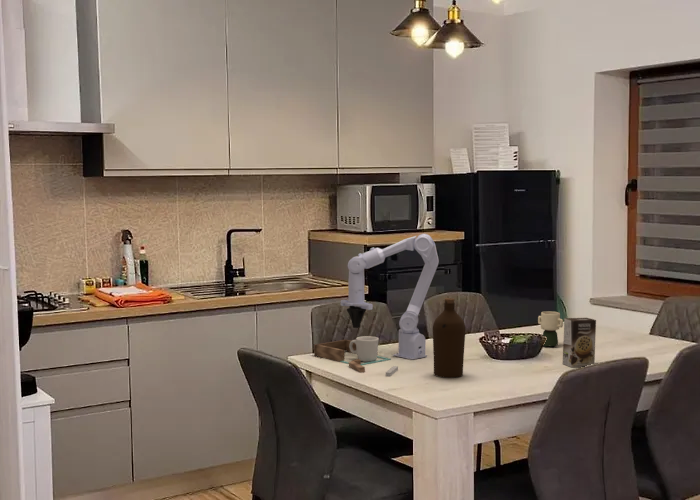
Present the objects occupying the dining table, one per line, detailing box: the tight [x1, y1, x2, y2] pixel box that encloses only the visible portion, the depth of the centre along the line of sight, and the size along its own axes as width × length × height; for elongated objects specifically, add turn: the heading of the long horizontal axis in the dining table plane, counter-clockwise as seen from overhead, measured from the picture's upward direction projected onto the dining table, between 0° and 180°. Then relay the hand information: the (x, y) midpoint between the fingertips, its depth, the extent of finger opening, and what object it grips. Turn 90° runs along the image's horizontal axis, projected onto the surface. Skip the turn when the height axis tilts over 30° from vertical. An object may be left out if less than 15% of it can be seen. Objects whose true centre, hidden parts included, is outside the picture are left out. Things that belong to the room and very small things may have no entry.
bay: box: [339, 355, 392, 366], centre depth 312 cm, size 9×16×1 cm, turn 133°
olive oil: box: [432, 297, 467, 379], centre depth 290 cm, size 11×11×25 cm
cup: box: [349, 335, 380, 363], centre depth 312 cm, size 11×8×8 cm
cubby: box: [313, 339, 356, 362], centre depth 320 cm, size 15×15×4 cm
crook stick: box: [347, 358, 366, 373], centre depth 299 cm, size 11×4×2 cm, turn 23°
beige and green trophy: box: [537, 310, 564, 348], centre depth 340 cm, size 11×7×13 cm, turn 44°
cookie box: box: [562, 317, 597, 368], centre depth 306 cm, size 9×6×16 cm
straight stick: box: [385, 365, 399, 377], centre depth 293 cm, size 10×2×2 cm, turn 163°
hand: (356, 327), depth 322 cm, fingers closed
